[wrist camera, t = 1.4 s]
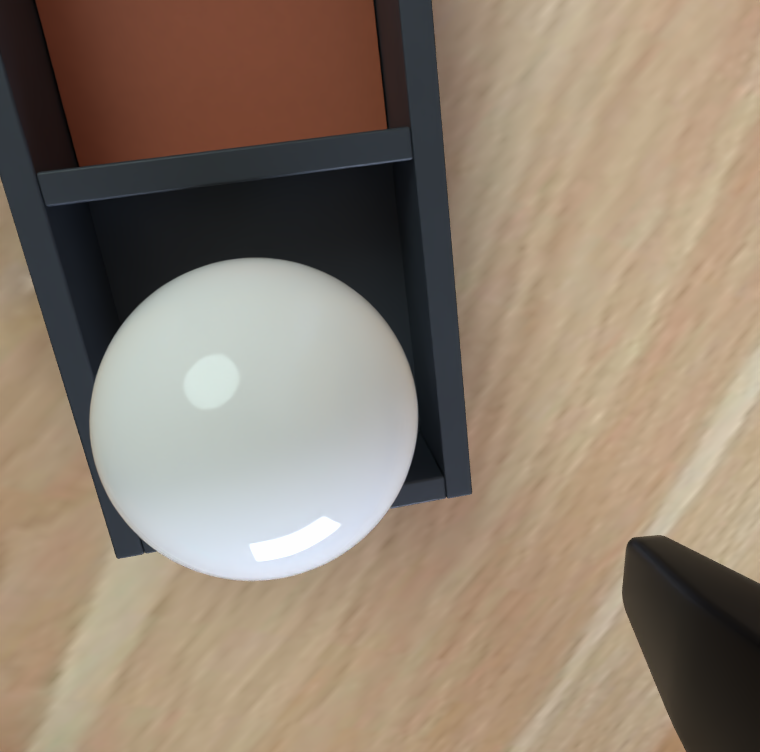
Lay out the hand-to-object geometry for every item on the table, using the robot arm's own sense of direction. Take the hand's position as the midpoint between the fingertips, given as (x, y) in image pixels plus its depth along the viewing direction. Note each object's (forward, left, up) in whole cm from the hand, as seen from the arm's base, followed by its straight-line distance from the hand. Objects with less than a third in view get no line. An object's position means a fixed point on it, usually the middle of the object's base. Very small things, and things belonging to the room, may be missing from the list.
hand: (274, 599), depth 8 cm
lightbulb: (0, 0, -13) cm, 13 cm away
